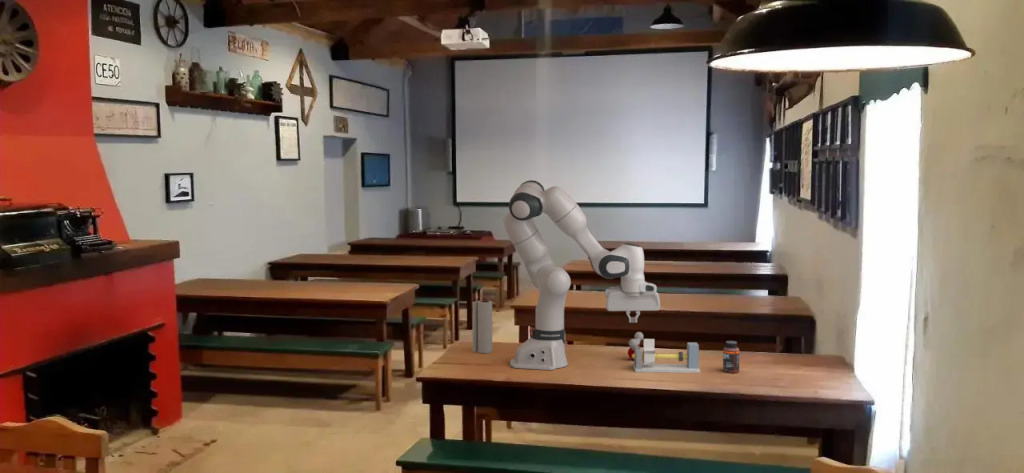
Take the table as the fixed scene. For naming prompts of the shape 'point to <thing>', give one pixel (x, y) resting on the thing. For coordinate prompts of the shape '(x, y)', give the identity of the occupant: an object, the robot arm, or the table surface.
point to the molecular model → (634, 344)
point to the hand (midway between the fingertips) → (633, 322)
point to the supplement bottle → (731, 357)
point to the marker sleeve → (649, 352)
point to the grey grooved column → (482, 326)
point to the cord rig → (670, 368)
